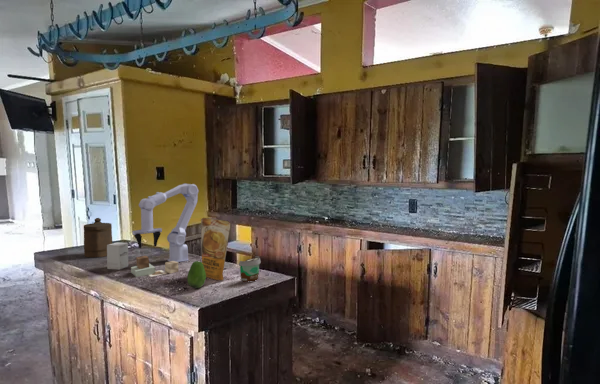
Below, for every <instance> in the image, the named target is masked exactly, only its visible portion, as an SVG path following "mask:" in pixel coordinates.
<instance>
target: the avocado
mask: <svg viewBox="0 0 600 384" xmlns="http://www.w3.org/2000/svg"><path fill="white" fill-rule="evenodd" d="M206 278H207V277H206V273H205V269H204V266H203V263H202V261H200V260H195V261H193V262H192V263H191V265H190V268H189V271H188V273H187V278H186V279H187V284H188V286H189V287H191V288H192V289H199V288H202V287H203V286H204V284H205V282H206Z"/></svg>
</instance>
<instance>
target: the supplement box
mask: <svg viewBox="0 0 600 384" xmlns="http://www.w3.org/2000/svg"><path fill="white" fill-rule="evenodd" d="M106 261H107V263H106V265H107V269H108V270H118V271H120V270H122V269H124V268H128V267H129V243H128V242H114V243H113V242H112V244H109V245H107V256H106Z"/></svg>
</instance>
